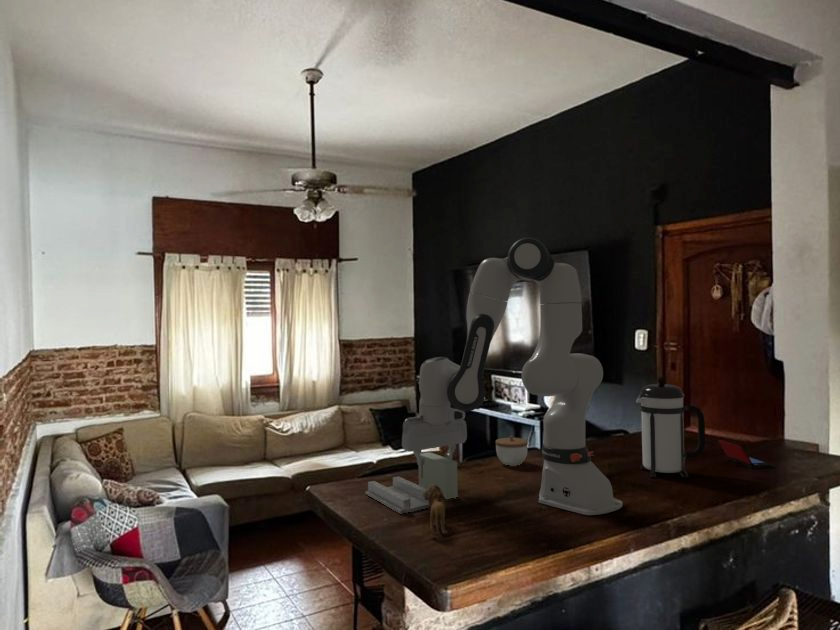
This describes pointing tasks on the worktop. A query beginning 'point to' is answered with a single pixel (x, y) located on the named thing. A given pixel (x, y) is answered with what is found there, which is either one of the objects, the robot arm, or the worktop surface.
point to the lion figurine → (436, 508)
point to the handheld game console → (742, 455)
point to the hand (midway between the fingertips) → (434, 462)
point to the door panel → (439, 474)
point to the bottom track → (413, 502)
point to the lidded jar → (511, 450)
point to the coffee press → (666, 429)
